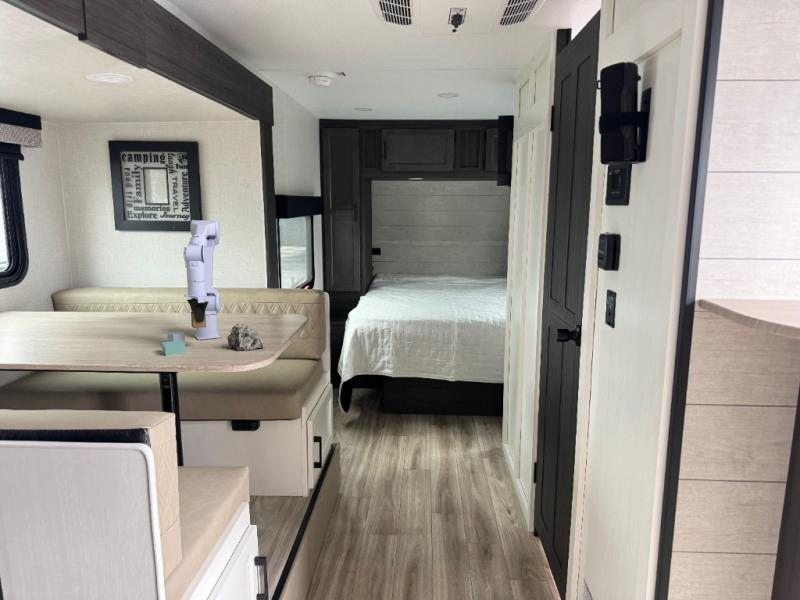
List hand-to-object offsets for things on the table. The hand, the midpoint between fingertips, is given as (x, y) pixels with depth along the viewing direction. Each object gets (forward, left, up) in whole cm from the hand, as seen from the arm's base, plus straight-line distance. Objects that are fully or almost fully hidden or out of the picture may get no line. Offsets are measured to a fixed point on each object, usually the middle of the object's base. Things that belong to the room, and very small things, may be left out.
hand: (198, 320), depth 180 cm
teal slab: (+3, -9, -10) cm, 13 cm away
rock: (+8, +14, -10) cm, 19 cm away
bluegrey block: (-5, -7, -10) cm, 13 cm away
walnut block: (0, 0, -2) cm, 2 cm away
